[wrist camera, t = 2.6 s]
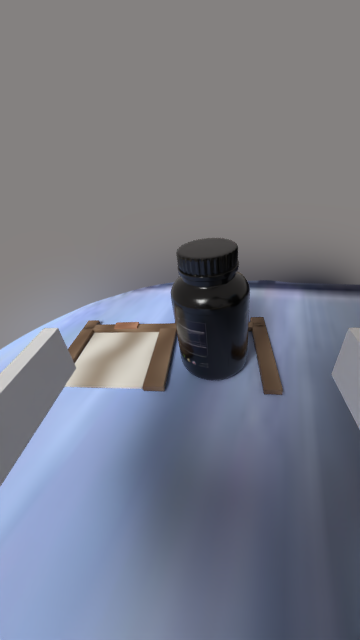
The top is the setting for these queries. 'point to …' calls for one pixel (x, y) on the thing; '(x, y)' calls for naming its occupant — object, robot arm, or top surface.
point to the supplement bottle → (211, 308)
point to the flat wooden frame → (147, 356)
